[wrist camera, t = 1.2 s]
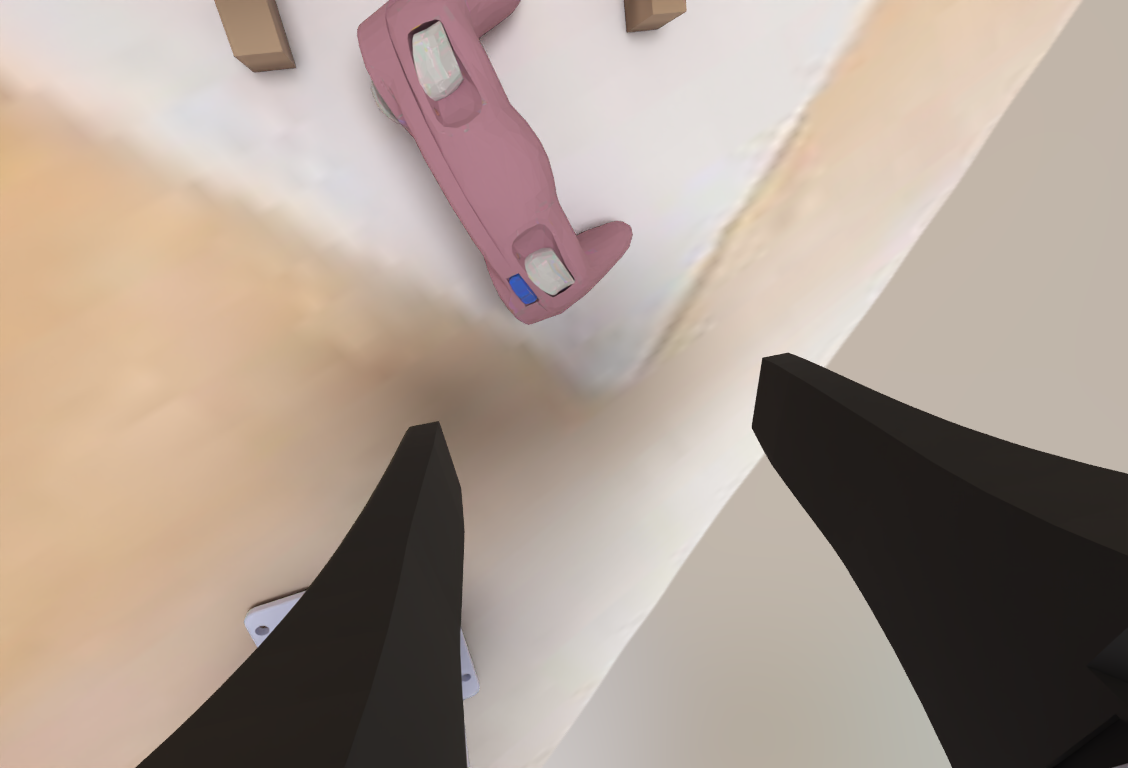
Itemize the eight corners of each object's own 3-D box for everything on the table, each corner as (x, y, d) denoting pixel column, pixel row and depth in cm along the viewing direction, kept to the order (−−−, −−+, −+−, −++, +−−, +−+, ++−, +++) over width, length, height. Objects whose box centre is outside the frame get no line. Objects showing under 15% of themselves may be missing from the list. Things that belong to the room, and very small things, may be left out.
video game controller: (402, 35, 17) (284, 27, 11) (516, -47, 15) (448, -107, 10) (540, 284, 21) (507, 370, 16) (639, 239, 20) (643, 316, 14)
